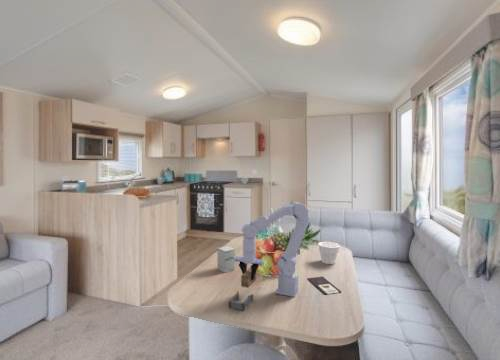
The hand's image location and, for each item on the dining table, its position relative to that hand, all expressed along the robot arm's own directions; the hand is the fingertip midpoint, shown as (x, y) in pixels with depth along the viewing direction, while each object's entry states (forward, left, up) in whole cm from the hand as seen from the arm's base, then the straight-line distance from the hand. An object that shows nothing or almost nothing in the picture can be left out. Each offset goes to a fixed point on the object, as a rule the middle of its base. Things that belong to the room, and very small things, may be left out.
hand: (249, 278), depth 135 cm
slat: (0, 0, -2) cm, 2 cm away
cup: (-29, -59, -8) cm, 66 cm away
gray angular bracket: (0, +9, -8) cm, 12 cm away
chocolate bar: (-31, -24, -9) cm, 40 cm away
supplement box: (+24, -23, -8) cm, 34 cm away
